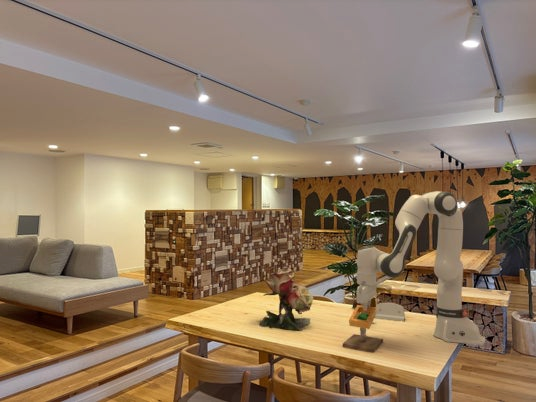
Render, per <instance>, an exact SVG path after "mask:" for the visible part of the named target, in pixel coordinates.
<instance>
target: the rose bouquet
mask: <svg viewBox="0 0 536 402" xmlns="http://www.w3.org/2000/svg"><path fill="white" fill-rule="evenodd" d="M269 277H270V278H271V279H270V280H266V281H265V284H266V285H267V286H268V288H269V289H270V291H271V292H272V293H265V294H263V296H264V297H265V296H276V295H278V297H279V298H278V299H279V304H278V314H277V313H274V312H271V311H270V310H266V311H265V313H266V315H267V316H265V317H263V318H262V319H261V320H259V324H258V326H260V327H262V328H269V329H275V330H276V329H277V330H280V329H281V330H282V329H284V330H287V331H297V330H298V331H303V329H304V330H306V328H305V326H309V325H310V324H311V318H310V317H308V318H307V317H295V314H294V313H293V310H295V312H297V314H298V315H299V314H300V315H302V314H303V313H304V312H308V311H310V310H311V307H312V304H313V301H314V295H311V292H310V291H309V289H307V287H306V286H303V285H301V284H299V283H298V284H297V283H294V282H295V279H296V278H294V277H295V273H294V270H292V269H291V268H290V267H287V266H286V267H284V268H282V269H279V270H277V272H275V271H272V273H271V274H270V275H269ZM283 309H284V313H282V310H283Z"/></svg>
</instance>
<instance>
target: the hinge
mask: <svg viewBox="0 0 536 402" xmlns="http://www.w3.org/2000/svg"><path fill="white" fill-rule="evenodd" d="M376 311H377V313H376V316H375V318H374V320H384V321H385V320H386V321H395V322H401V321H402V323H404V322H405V321H406V315H405V307H404V306H402V305H401V304H397V303H393V302H380V303H377V304H376Z"/></svg>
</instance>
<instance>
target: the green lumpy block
mask: <svg viewBox="0 0 536 402" xmlns="http://www.w3.org/2000/svg"><path fill="white" fill-rule="evenodd" d="M368 316H369V314H367V313H360V314H359V316H358V318H357V319H359V320H365V321H366V320H367V318H368Z"/></svg>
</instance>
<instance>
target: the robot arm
mask: <svg viewBox="0 0 536 402" xmlns="http://www.w3.org/2000/svg"><path fill="white" fill-rule="evenodd" d="M458 206H459V205H458V201H457V198H456V196H455V195H454V194H453V193H451V192H449V191H440V190H439V191H436V190H435V191H431V192H424V193H421V195H420V194H412V195H410V196H409V198H408V199H407V200H406V201H405V202H404V204H403V205H402V206H401V208H400V210H399V212H398V214H397V216H396V218H395V220H394V221H395V222H394V223H395V228H396V229H397V231H398V233H399V236H398V240H397V241H396V243H395V246H394V248H393V250H392V252H390V253H387V252H385V251H382V250H380V249H378V248H377V247H375V246H374V245H364V246H360V247H359V248H358V250H357V257H356V265H357V271H356V284H357V285H359V286H357V289H356V299H357V303H360V304H361V305H362V306H363V310H364V311H367V310H368V306H369V307H371V302H372V299H373V298H375V297H376V295H377V285H378V284H377V283H378V282H379V278H378V276H377V273H381V274H383V275H385V276H387V277H388V278H398V277H400V276H401V275H402V274H403V272H404V270H405V264H406V259H407V256H408V254H409V253H410V250H411V247H412V245H413V243H414V241H415V239H416V235H417V233H418V232H417V231H418V229H419V228H420V225H421V224H422V221H423V220H424V218H425V215H427V214H430V215H437V217H438V226H437V227H438V228H437V244H436V245H437V247H436V251H435V257H434V266H433V267H434V268H433V272H434V275H435V276H436V277H437V279H438V281H437V289H436V306H435V318H436V320H435V321H436V323H435V329H434V332H433V335H434V336H435V338H438V339H441V340H443V341H444V342H447V343H455V344H465V345H466V344H468V345H476V346H481V345H484V344H485V343H486V337H485V336H484V335H481V332H480V329H479V326H478V325H477V324H476V323H475V322H473V321H472V320H471V319H470V318H468V316H467V315H468V313H467V310H466V309H464V308H463V306H462V302H463V301H462V295H463V294H462V292H463V291H462V290H463V278H464V263H463V262H462V260H461V255H462V249H463V238H464V237H463V236H464V234H463V233H464V219H463V212H462V209H460V208H459V207H458Z"/></svg>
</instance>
